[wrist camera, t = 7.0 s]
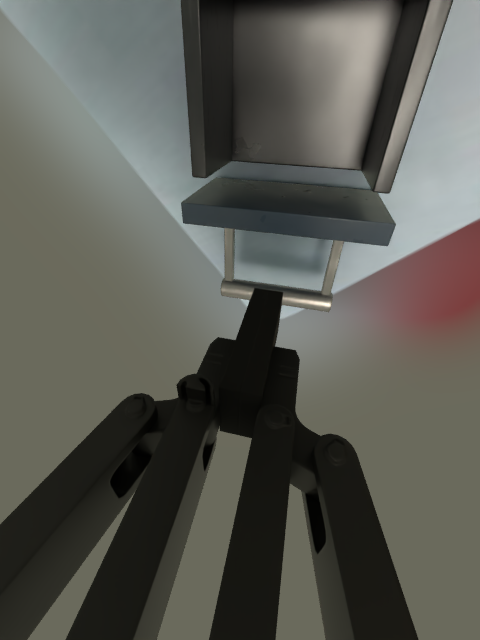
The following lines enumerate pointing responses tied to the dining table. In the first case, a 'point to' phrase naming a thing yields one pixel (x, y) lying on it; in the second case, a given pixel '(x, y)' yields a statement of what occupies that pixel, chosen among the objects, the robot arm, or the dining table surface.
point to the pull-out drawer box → (303, 116)
